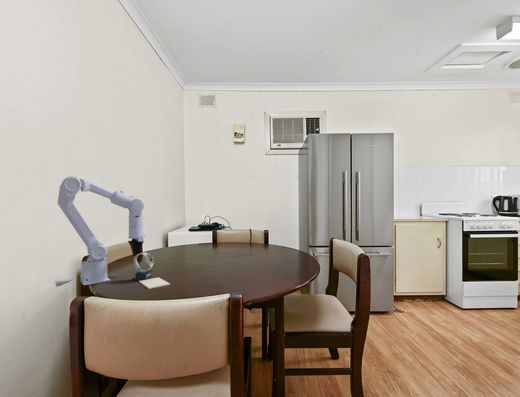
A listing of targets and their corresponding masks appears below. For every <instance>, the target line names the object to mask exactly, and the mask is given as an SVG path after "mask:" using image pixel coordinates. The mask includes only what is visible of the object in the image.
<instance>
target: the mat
mask: <svg viewBox="0 0 520 397" xmlns="http://www.w3.org/2000/svg"><path fill="white" fill-rule="evenodd" d="M138 282H139V284H141V285H142V286H144V287H146V288H147V289H148V290H150V289H151V290H152V289H155V288H160V287H166V286H170V285H171V284H170V282H168V281H166V280H164V279H162V278H160V277H159V276H158V277H154V278H149V279H148V280H142V281H138Z"/></svg>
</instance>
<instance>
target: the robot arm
mask: <svg viewBox="0 0 520 397" xmlns="http://www.w3.org/2000/svg"><path fill="white" fill-rule="evenodd" d="M79 191H81V192H91V193H93V194H95V195H99V196H101V197H104V198H107V199H109V200H110V203H111V204H114V205H116V206H118V207H121V208H124V209H127V210H128V235H127V236H128V239H131V240H128V241H127V242H128V245H129V246H130V250H131V253H132V256H133V257H134V258H135V256H136V255H138V254H140V252H141V248H142V246H143V244H144V241H145V240H144V238H145V237H146V234H144V230H143V229H144V228H143V227H144V224H143V223H144V219H143V217H144V215H143V210H144V208H145V204H144V202H143V201H142V200H141V199H139V198H135V196H133V195H129V194H126V193H125V191H122V190H116V191H111V190H109V189H107V188H104V187H103V186H100V185H98V184H95V183H93V182H91V181H89V180H86V179H82V178H80V179H79V178H78V177H76V176H73V175H72V176H71V175H70V176H67V177H65V178H64V179H63V180H62V182H61V184H60V186H59V191H58V197H57V205H58V207H59V208H60V209H61V211H62V213H63V214H64V215H65V217H66V218H67V220H68V222H69V223H70V224H71V226H72V227H73V228H74V231H75V232H76V233H77V235H78V236H79V238H80V239H81V240H82V242H83V243H84V244H85V246H86V249H87V254H88V255H89V256H88V258H86V261H85V260H84V261H81V262H80V283H81V284H82V285H83V286H89V285H93V284H99V283H106V282H111V279H110V278H109V277H108V257H107V255H108V249H107V247H106V246H105V245H104V244H103V243H101V242H100V241H99V240H98V239H97V236H96V235H94V232H93V231H92V229H91V228H90V226H89V225H88V224H87V222H86V221H85V219H84V217H83V216H82V215H81V213H80V212H79V210H78V208H77V207H76V206H75V204H74V200H75V198H76V196H77V194H78V193H79ZM140 255H141V254H140Z"/></svg>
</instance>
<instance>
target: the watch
mask: <svg viewBox="0 0 520 397" xmlns="http://www.w3.org/2000/svg"><path fill="white" fill-rule="evenodd" d="M140 255H142V256H143V258H144V261H145V262H146V264H148V266H149V267H148V269H141V267H140V265H139V262H138V260H137V259H138V258H139V256H140ZM154 263H155V259H154V257H153V256H152V254H150V253H149V252H141V253H140V254H138V255H136V256H135V257H134V258H133V266H134V268H135V270H136V271H137V272H135V279H134V280H135V282H139V281H142V280H148V279H152V268H153V266H154Z"/></svg>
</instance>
